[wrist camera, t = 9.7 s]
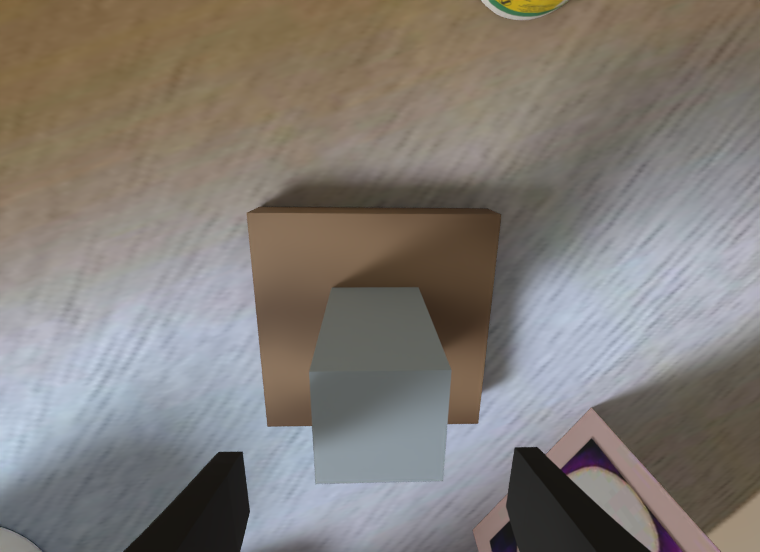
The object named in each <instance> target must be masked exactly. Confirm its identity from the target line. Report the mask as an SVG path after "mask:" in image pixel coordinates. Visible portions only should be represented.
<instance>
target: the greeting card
mask: <svg viewBox="0 0 760 552" xmlns="http://www.w3.org/2000/svg"><path fill="white" fill-rule="evenodd" d="M546 456H547V457H548V458H549V459H550V460H551V461H552V462H553V463H554V464H556V465H557V466H558V467H559V468H560V469H561V470H562V471H563V472H564V473H565V474H566V475H567V476H568V477H569V478H570V479H571V480H572V481H573V482H574V483H575V484H576V485H577V486H578V487H580V488H581V489H582V490H583V491H584V492H585V493H586V494H587V495H588V496H589V497H590V498H591V499H592V500H593V501H594V502H596V503H597V504H598V505H599V506H600V507H601V508H602V509H603V510H604V511H605V512H606V513H608V514H609V515H610V516H611V517H612V518H613V519H614V520H615V521H616V522H618V523H619V524H620V525H621V526H622V527H623V528H624V529H626V530H627V531H628V532H629V533H630V534H631V535H632V536H634V537H635V538H636V539H637V540H638V541H639V542H641V543H642V544H643V545H644V546H645V547H647V548H648V549H649V550H650V551H651V552H721V551H720V550H719V549H718V548H717V547H716V546H715V545H714V543H713V542H712V541H711V540H710V539H709V538H708V537H707V535H706V534H705V533H704V532H703V531H702V530H701V529H700V528H699V527H698V525H697V524H696V523H695V522H694V521H693V520H692V519H691V518H690V517H689V515H688V514H687V513H686V512H685V511H684V510H683V509H682V508H681V507H680V505H679V504H678V503H677V502H676V501H675V500H674V499H673V498H672V497H671V495H670V494H669V493H668V492H667V491H666V490H665V489H664V488H663V486H662V485H661V484H660V483H659V482H658V481H657V480H656V479H655V478H654V476H653V475H652V474H651V473H650V472H649V471H648V470H647V469H646V468H645V466H644V465H643V464H642V463H641V462H640V461H639V460H638V459H637V458H636V456H635V455H634V454H633V453H632V452H631V451H630V450H629V449H628V448H627V446H626V445H625V444H624V443H623V442H622V441H621V440H620V439H619V437H618V436H617V435H616V434H615V433H614V432H613V431H612V430H611V429H610V427H609V426H608V425H607V424H606V423H605V422H604V421H603V420H602V419H601V417H600V416H599V415H598V414H597V413H596V412H595V411H594V410H593V409H592V408H590V409H589V410H588V411H587V412H586V413H585V414H584V416H583V417H582V418H581V419H580V420H579V421H578V422H577V423H576V424H575V425H574V426H573V427H572V428H571V429H570V430H569V431H568V432H567V433H566V434H565V435H564V436H563V437H562V438H561V439H560V440H559V441H558V442H557V443H556V444H555V445H554V447H553V448H552V449H551V450H550V451H549V452H548V453H547V454H546ZM507 495H508V494H507ZM507 495H506V496H505V497H504V498H503V499H502V500H501V501H500V502H499V503H498V504H497V505H496V506H495V507H494V508H493V510H492V511H491V512H490V513H489V514H488V515H487V516H486V517H485V518H484V519H483V520H482V521H481V522H480V523H479V524H478V525H477V526H476V527H475V528H474V529H473V533H474V537H475V540H476V544H477V547H478V551H479V552H519V549H518V546H517V543H516V539H515V536H514V533H513V530H512V526H511V523H510V519H509V516H508V512H507V509H506V502H507Z"/></svg>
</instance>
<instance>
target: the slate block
mask: <svg viewBox="0 0 760 552" xmlns="http://www.w3.org/2000/svg"><path fill="white" fill-rule="evenodd" d="M451 371H452V370H451V367H450V365H449V362H448V360H447V357H446V355H445V352H444V350H443V347H442V345H441V342H440V340H439V337H438V335H437V332H436V330H435V327H434V325H433V322H432V320H431V317H430V315H429V312H428V310H427V307H426V305H425V302H424V300H423V297H422V295H421V292H420V290H419V287H355V288H331V291H330V295H329V299H328V303H327V306H326V310H325V314H324V318H323V321H322V325H321V329H320V333H319V336H318V340H317V344H316V348H315V351H314V355H313V359H312V363H311V366H310V370H309V380H310V397H311V415H312V432H313V450H314V467H315V484H337V483H381V482H426V481H443V475H444V462H445V449H446V436H447V423H448V410H449V397H450V384H451Z"/></svg>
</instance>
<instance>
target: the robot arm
mask: <svg viewBox="0 0 760 552" xmlns="http://www.w3.org/2000/svg"><path fill="white" fill-rule="evenodd" d="M506 509H507V512H508V516H509V519H510V523H511V526H512V530H513V533H514V536H515V539H516V543H517V546H518V549H519V552H651V551H650V550H649V549H648V548H647V547H645V546H644V545H643V544H642V543H641V542H639V541H638V540H637V539H636V538H635V537H634V536H632V535H631V534H630V533H629V532H628V531H627V530H626V529H624V528H623V527H622V526H621V525H620V524H619V523H618V522H616V521H615V520H614V519H613V518H612V517H611V516H610V515H609V514H608V513H606V512H605V511H604V510H603V509H602V508H601V507H600V506H599V505H598V504H597V503H596V502H594V501H593V500H592V499H591V498H590V497H589V496H588V495H587V494H586V493H585V492H584V491H583V490H582V489H581V488H580V487H578V486H577V485H576V484H575V483H574V482H573V481H572V480H571V479H570V478H569V477H568V476H567V475H566V474H565V473H564V472H563V471H562V470H561V469H560V468H559V467H558V466H557V465H556V464H554V463H553V462H552V461H551V460H550V459H549V458H548V457H547V456H546V455H545V454H544V453H543V452H542V451H541V450H540V449H539V448H538V447H516V448H515V449H514V456H513V462H512V469H511V475H510V482H509V489H508V495H507V502H506ZM249 513H250V509H249V500H248V492H247V484H246V476H245V468H244V460H243V452H218V453H217V454H216V455H215V456H214V457H213V458H212V459H211V460H210V462H209V463H208V464H207V465H206V466H205V467H204V468H203V469H202V470H201V471H200V472H199V474H198V475H197V476H196V477H195V478H194V479H193V480H192V481H191V482H190V483H189V484H188V486H187V487H186V488H185V489H184V490H183V491H182V492H181V493H180V494H179V495H178V496H177V497H176V498H175V500H174V501H173V502H172V503H171V504H170V505H169V506H168V507H167V508H166V509H165V510H164V511H163V512H162V513H161V514H160V515H159V516H158V517H157V518H156V519H155V520H154V521H153V522H152V523H151V524H150V525H149V527H148V528H147V529H146V530H145V531H144V532H143V533H142V534H141V535H140V536H139V537H138V538H137V539H136V540H134V541H133V542H132V543H131V544H130V545H129V546H128V547H127V548H126V549H125V550H124V551H123V552H240V550H241V546H242V542H243V538H244V534H245V530H246V526H247V522H248V517H249Z"/></svg>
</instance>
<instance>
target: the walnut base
mask: <svg viewBox="0 0 760 552" xmlns="http://www.w3.org/2000/svg"><path fill="white" fill-rule="evenodd" d="M247 222H248V232H249V242H250V252H251V263H252V273H253V283H254V293H255V304H256V314H257V324H258V335H259V345H260V355H261V365H262V376H263V386H264V396H265V406H266V417H267V427H271V426H312V415H311V397H310V380H309V370H310V366H311V363H312V359H313V355H314V351H315V348H316V344H317V340H318V336H319V333H320V329H321V325H322V321H323V318H324V314H325V310H326V306H327V303H328V299H329V295H330V291H331V288H355V287H419V290H420V292H421V295H422V297H423V300H424V302H425V305H426V307H427V310H428V312H429V315H430V317H431V320H432V322H433V325H434V327H435V330H436V332H437V335H438V337H439V340H440V342H441V345H442V347H443V350H444V352H445V355H446V357H447V360H448V362H449V365H450V367H451V370H452V371H451V384H450V397H449V410H448V423H447V424H478V420H479V411H480V402H481V393H482V384H483V375H484V366H485V357H486V348H487V339H488V330H489V321H490V312H491V303H492V294H493V285H494V276H495V267H496V258H497V249H498V240H499V231H500V222H501V214H499V213H496V212H494V211H492V210H489V209H483V208H347V207H258V208H256V209H254V210H252V211H250V212H247Z"/></svg>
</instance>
